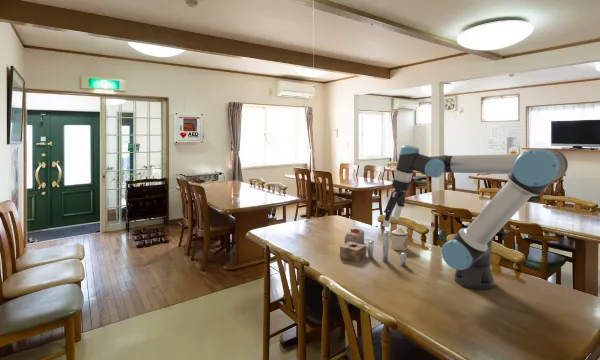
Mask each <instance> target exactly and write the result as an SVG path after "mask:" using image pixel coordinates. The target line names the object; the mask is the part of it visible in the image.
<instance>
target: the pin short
mask: <svg viewBox="0 0 600 360" xmlns="http://www.w3.org/2000/svg"><path fill="white" fill-rule="evenodd" d="M406 265H407V252H403V251H402V252H400V266H401V267H407V266H406Z"/></svg>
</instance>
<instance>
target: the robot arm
mask: <svg viewBox="0 0 600 360" xmlns="http://www.w3.org/2000/svg"><path fill="white" fill-rule="evenodd" d="M568 167H569V164H568V159H567V157H566V156H565V155H564V154H563V153H562V152H561V151H560V150H558V149H555V148H548V147H547V148H533V149H529V150H526V151H522V152H521V153H520V154H519V153H518V154H514V153H512V154H509V153H508V154H468V155H467V154H465V155H463V154H460V155H459V154H458V155H456V154H455V155H448V154H446V155H445V154H444V155H438V156H437V155H436V156H427V155H424V154H421V153H420V148H419V147H416V146H413V145H410V144H404V145H402V147H401V149H400V151H399V154H398V160H397V164H396V168H395V170H394V171H393V172H394V175H393V176H394V178H393V180H392V182H391V183H392V184H391V187H392V188H394V190H393V191H391V194H390V197H389V199H388V202H387V204H386V206H385V209H384V211H383V213H384V218H383V222H382V226H383V227H386V228H387V229H389V227H390V224H391V220H392V218H393V219H395V220H400V217H401V212H402V210H403V208H404V207H405V201H406V200H405V199H406V194H407V193H406V192H407V191H409V189H410V186H411V181H412V178H413V175H414V171H415V172H417V173H420V174H423V175H425V176H428V177H432V178H436V179H438V178H440V176H442V175H443V174H444V173H445V174H454V173H455V174H486V175H487V174H493V175H494V174H495V175H506V179H507V182H506V183H505V184H504V185H503V186H502V187H501V189H500V190H499V191H497V193H496V194H495V195H494V196H493V198H491V200H490V201H489V202H488V203H487V205H486V206H485V207H484V208H483V209H482V210H481V212H480V213H478V215H477V216H476V217H475V218H474V220H473V221H472V222H471V223H470V224H468V225H469V226H468V225H467V227H462V228H460V229H459V230H458V231H457V233H456V234H455V235H453V237H452V238H451V239H450V240H448V241H446V242H445V243H444V244H443V245H442V247H441V256H442V260H443V261H444V262H445V263H446V264H447V266H449V267H450V268H452V269H454V270H455V271H454V273H453V275H454V277H453V278H454V279H453V280H454V281H455V283H457V284H459V285H460V286H463V287H465V288H469V289H474V290H490V289H493V288H494V286H495V279H494V275H493V272H492V268H491V263H492V262H491V260H492V251H493V250H492V249H493V248H492V247H493V241H494V239H493V238H494V237H495V236H496V234H497V233H499V231H500V230H501V229H502V228H503V227H504V226H505V225H506V224H507V223H508V222H509V221H510V219H512V217H514V216H515V215H516V213H517V212H518V211H519V210H520V209H521V208H522V207H523V206H524V205H525V204H526V202H528V201H529V199H530V198H532V197H538V196H540V195H541V194H542V193H543V192H544V191H545V190H547V188H548V187H549V186H550V185H551V184H552V183H553V182H554V181H558V180H559V179H561V178H562V177H563V176H564V175H565V174H566V172H567V171H568ZM393 211H394V212H393Z"/></svg>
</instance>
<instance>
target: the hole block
mask: <svg viewBox="0 0 600 360" xmlns="http://www.w3.org/2000/svg"><path fill="white" fill-rule="evenodd" d="M365 257H367V244H364V243H362V244H359V243H354V242H348V243H346V244H345V243H343V244H342V245H341V246H339V258H340V259H345V260H348V261H352V262H355V263H358V262H359V261H361V260H363V259H364V258H365Z"/></svg>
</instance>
